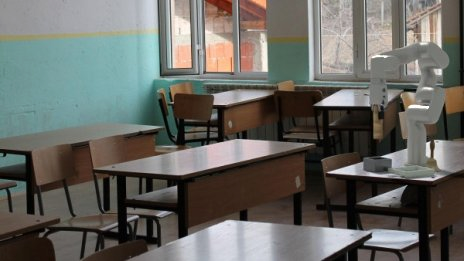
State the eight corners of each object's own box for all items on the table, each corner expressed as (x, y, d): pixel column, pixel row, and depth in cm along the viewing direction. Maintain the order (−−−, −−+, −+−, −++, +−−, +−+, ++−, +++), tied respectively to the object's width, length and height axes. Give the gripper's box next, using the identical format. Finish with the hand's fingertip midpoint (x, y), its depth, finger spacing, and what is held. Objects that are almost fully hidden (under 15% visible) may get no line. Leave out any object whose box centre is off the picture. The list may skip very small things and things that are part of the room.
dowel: (379, 137, 432) (379, 105, 431) (384, 138, 428) (384, 106, 427) (371, 138, 431) (371, 105, 429) (376, 139, 427) (376, 106, 425)
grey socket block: (380, 170, 438) (380, 156, 437) (391, 173, 429) (391, 158, 428) (363, 171, 434) (363, 157, 433) (374, 174, 425) (374, 160, 424)
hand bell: (421, 169, 439) (421, 138, 437) (437, 169, 440) (437, 137, 438) (426, 172, 431) (426, 140, 429) (442, 171, 431) (443, 139, 430)
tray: (416, 171, 433) (416, 165, 432) (434, 175, 420) (434, 169, 420) (388, 174, 425) (388, 168, 425) (405, 178, 413) (405, 171, 413)
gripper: (394, 82, 420) (394, 119, 422) (374, 80, 436) (374, 117, 438) (381, 82, 417) (381, 120, 419) (362, 81, 432) (362, 117, 435)
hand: (378, 118), depth 428 cm, fingers closed on dowel, 4 cm apart
